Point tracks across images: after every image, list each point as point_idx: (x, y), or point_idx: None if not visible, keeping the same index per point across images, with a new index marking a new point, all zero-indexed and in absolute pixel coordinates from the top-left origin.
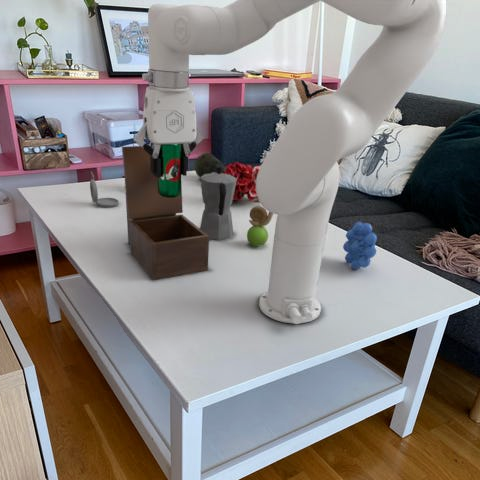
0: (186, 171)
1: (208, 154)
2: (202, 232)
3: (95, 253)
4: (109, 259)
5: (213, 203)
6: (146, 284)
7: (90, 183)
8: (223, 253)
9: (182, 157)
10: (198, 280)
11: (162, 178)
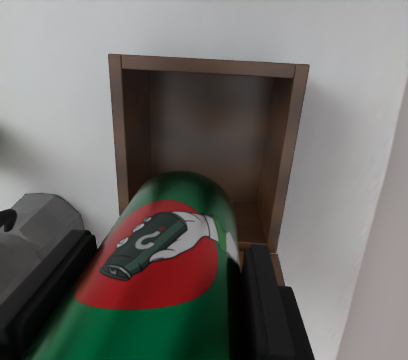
0: (60, 241)
1: None
2: (117, 92)
3: (323, 237)
4: (313, 202)
5: (10, 259)
6: (306, 53)
7: None
8: (70, 129)
9: (25, 340)
10: (186, 16)
11: (232, 240)
